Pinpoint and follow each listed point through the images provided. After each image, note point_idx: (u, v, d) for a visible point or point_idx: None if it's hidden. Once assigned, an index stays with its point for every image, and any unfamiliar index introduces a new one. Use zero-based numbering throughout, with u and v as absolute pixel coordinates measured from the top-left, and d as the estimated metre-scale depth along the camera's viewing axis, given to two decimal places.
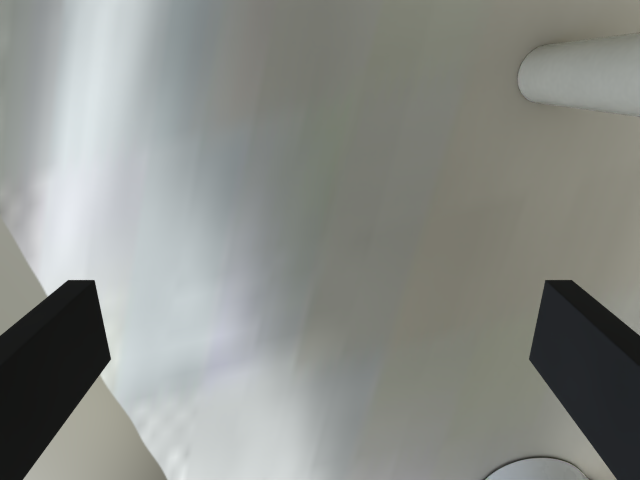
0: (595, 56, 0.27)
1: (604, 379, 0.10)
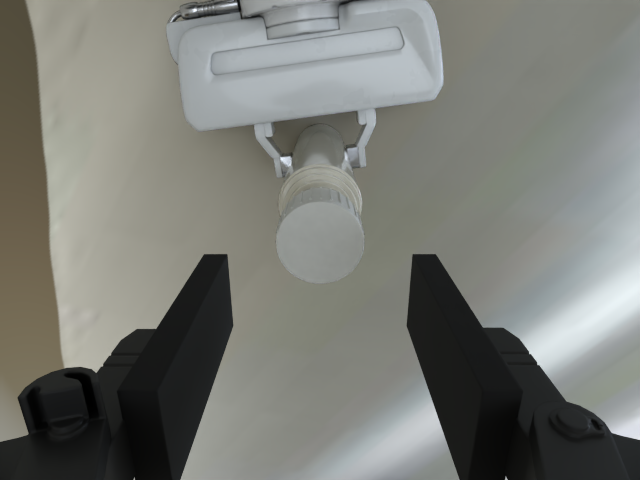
0: None
1: (433, 332, 0.12)
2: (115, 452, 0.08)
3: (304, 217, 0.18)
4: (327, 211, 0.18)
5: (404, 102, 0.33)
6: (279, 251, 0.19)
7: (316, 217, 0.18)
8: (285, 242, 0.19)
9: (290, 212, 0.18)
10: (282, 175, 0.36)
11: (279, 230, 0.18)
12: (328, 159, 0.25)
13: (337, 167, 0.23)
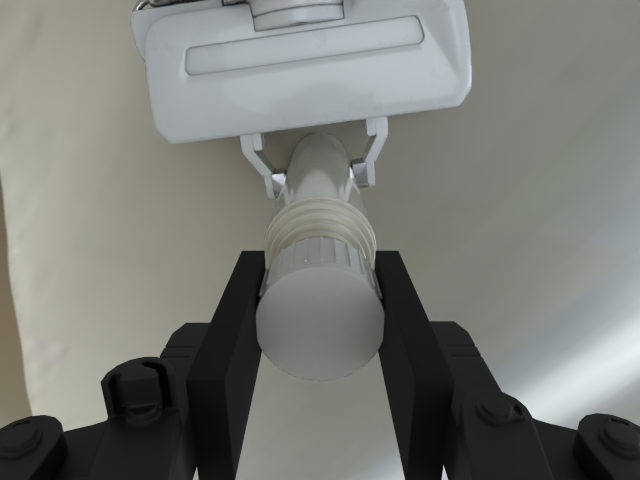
0: None
1: (387, 326, 0.12)
2: (185, 442, 0.08)
3: (296, 290, 0.12)
4: (331, 281, 0.12)
5: (423, 109, 0.27)
6: (259, 337, 0.13)
7: (314, 290, 0.12)
8: (268, 324, 0.12)
9: (275, 282, 0.12)
10: (274, 196, 0.30)
11: (259, 308, 0.12)
12: (331, 187, 0.19)
13: (343, 200, 0.17)
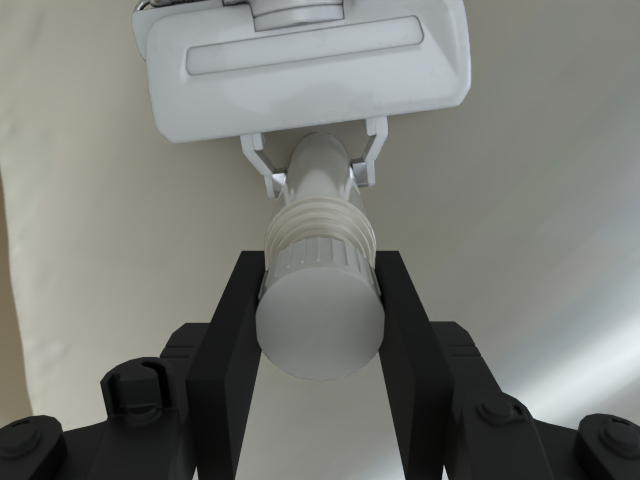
0: None
1: (387, 326, 0.12)
2: (184, 442, 0.08)
3: (281, 350, 0.13)
4: (268, 322, 0.12)
5: (423, 108, 0.27)
6: (337, 375, 0.13)
7: (279, 335, 0.13)
8: (322, 369, 0.13)
9: (278, 365, 0.13)
10: (274, 195, 0.30)
11: (305, 377, 0.13)
12: (331, 187, 0.19)
13: (343, 199, 0.17)
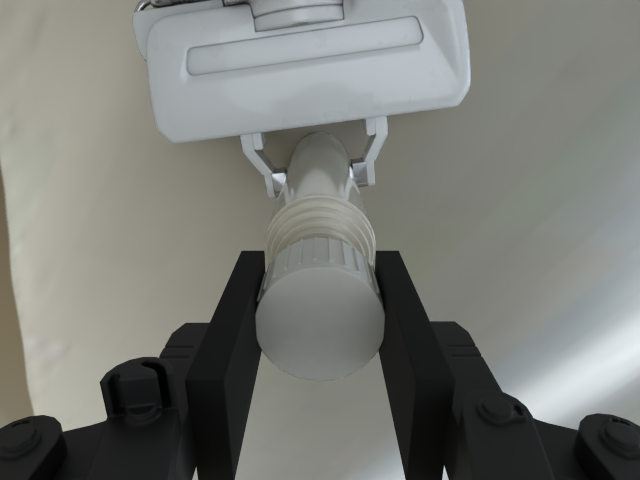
0: None
1: (387, 326, 0.12)
2: (184, 442, 0.08)
3: (350, 357, 0.13)
4: (320, 370, 0.13)
5: (422, 108, 0.27)
6: (378, 306, 0.12)
7: (333, 360, 0.13)
8: (371, 320, 0.12)
9: (370, 357, 0.13)
10: (274, 195, 0.30)
11: (382, 334, 0.13)
12: (331, 186, 0.19)
13: (343, 199, 0.17)
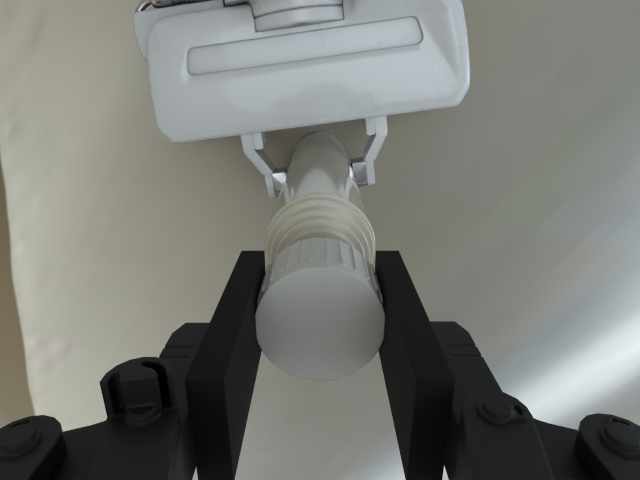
0: None
1: (387, 326, 0.12)
2: (184, 442, 0.08)
3: (353, 296, 0.12)
4: (372, 322, 0.12)
5: (422, 108, 0.27)
6: (288, 278, 0.12)
7: (358, 311, 0.12)
8: (306, 282, 0.12)
9: (354, 275, 0.12)
10: (275, 194, 0.30)
11: (321, 269, 0.12)
12: (331, 185, 0.19)
13: (343, 198, 0.18)
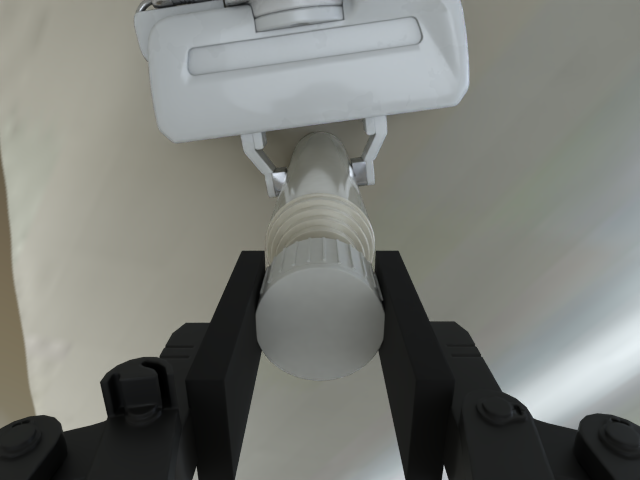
0: None
1: (387, 326, 0.12)
2: (184, 442, 0.08)
3: (281, 302, 0.12)
4: (308, 281, 0.12)
5: (421, 108, 0.27)
6: (270, 357, 0.13)
7: (297, 295, 0.12)
8: (272, 343, 0.13)
9: (259, 302, 0.12)
10: (275, 194, 0.30)
11: (257, 331, 0.13)
12: (330, 185, 0.19)
13: (343, 197, 0.18)
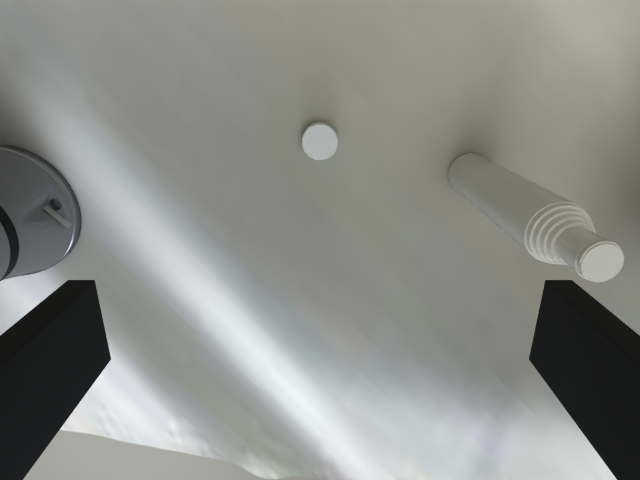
0: (480, 209, 0.41)
1: (604, 379, 0.10)
2: None
3: (309, 134, 0.46)
4: (316, 128, 0.46)
5: None
6: (306, 152, 0.47)
7: (313, 132, 0.46)
8: (306, 147, 0.46)
9: (303, 135, 0.46)
10: None
11: (302, 143, 0.46)
12: None
13: None
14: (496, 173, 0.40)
